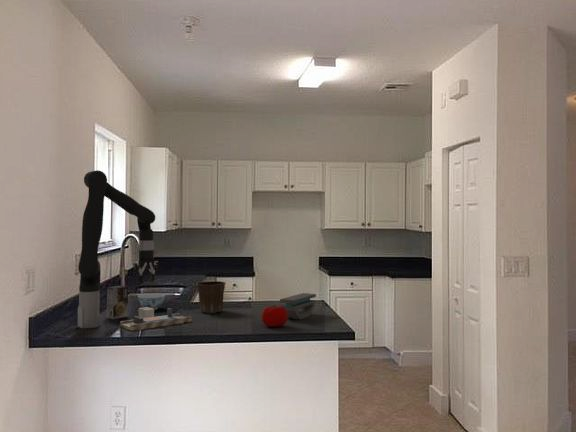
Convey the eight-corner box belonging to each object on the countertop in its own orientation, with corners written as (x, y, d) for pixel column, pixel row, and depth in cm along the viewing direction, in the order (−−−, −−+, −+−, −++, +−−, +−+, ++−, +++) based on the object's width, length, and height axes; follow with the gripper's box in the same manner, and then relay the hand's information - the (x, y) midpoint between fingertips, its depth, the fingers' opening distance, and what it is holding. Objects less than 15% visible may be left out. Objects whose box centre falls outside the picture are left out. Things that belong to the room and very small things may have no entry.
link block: (144, 321, 264) (144, 309, 264) (138, 319, 269) (138, 308, 269) (153, 320, 267) (153, 308, 267) (147, 318, 272) (147, 306, 272)
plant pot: (200, 315, 281) (200, 285, 281) (193, 310, 296) (193, 282, 296) (229, 313, 288) (229, 283, 288) (220, 308, 302) (220, 280, 302)
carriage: (147, 324, 250) (147, 313, 250) (138, 321, 256) (138, 310, 256) (177, 319, 260) (177, 309, 260) (168, 317, 267) (168, 307, 267)
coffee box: (121, 315, 281) (121, 285, 281) (128, 316, 277) (128, 286, 277) (106, 317, 274) (106, 287, 274) (113, 319, 270) (113, 288, 270)
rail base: (131, 330, 242) (131, 321, 242) (119, 326, 252) (119, 317, 252) (191, 321, 263) (191, 312, 263) (178, 318, 273) (178, 309, 273)
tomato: (290, 328, 248) (290, 306, 248) (264, 329, 245) (264, 307, 245) (283, 323, 259) (283, 302, 259) (259, 325, 255) (259, 304, 255)
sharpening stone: (303, 312, 289) (303, 293, 289) (315, 314, 285) (315, 294, 285) (280, 320, 267) (280, 299, 267) (293, 321, 263) (293, 300, 263)
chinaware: (149, 312, 290) (149, 298, 290) (132, 309, 299) (132, 296, 299) (170, 308, 302) (170, 295, 302) (153, 306, 311) (153, 293, 311)
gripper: (136, 250, 261) (136, 284, 261) (162, 249, 270) (162, 281, 270) (129, 249, 266) (129, 282, 266) (155, 248, 276) (155, 280, 276)
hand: (146, 282), depth 268 cm, fingers open, 5 cm apart
